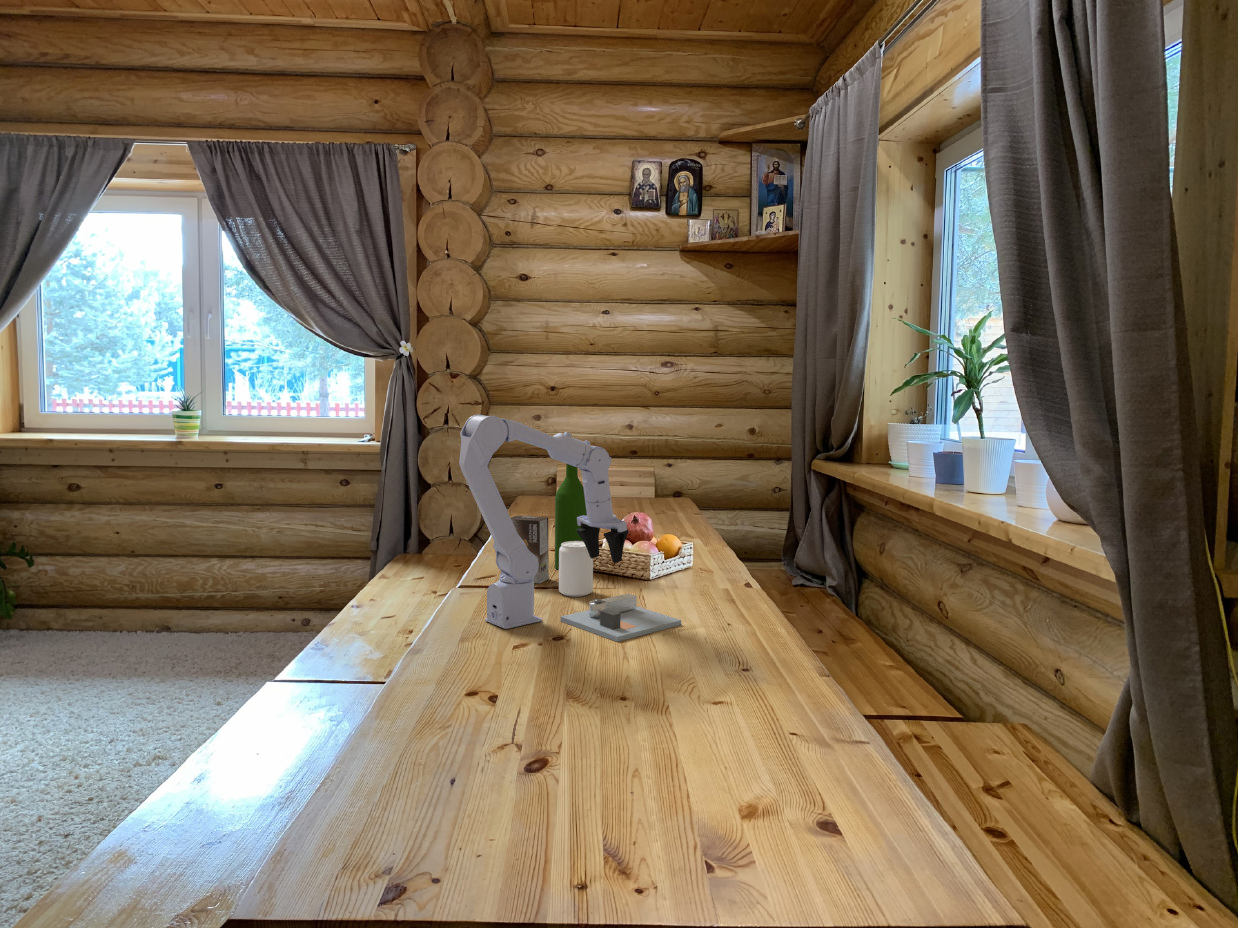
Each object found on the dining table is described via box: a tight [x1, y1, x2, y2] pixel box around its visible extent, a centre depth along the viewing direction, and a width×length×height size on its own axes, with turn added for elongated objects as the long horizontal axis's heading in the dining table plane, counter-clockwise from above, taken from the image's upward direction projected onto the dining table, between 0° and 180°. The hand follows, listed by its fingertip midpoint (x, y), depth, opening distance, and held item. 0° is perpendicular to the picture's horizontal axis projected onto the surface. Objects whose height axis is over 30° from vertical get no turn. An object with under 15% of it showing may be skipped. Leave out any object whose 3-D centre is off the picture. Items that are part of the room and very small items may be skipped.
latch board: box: [559, 605, 682, 643], centre depth 170 cm, size 18×18×4 cm
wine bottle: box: [554, 463, 587, 571], centre depth 220 cm, size 9×9×32 cm
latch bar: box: [588, 593, 638, 618], centre depth 174 cm, size 12×4×3 cm, turn 132°
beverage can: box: [558, 541, 594, 598], centre depth 194 cm, size 8×8×12 cm
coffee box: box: [510, 515, 550, 584], centre depth 206 cm, size 9×6×16 cm
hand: (605, 559), depth 180 cm, fingers open, 7 cm apart
